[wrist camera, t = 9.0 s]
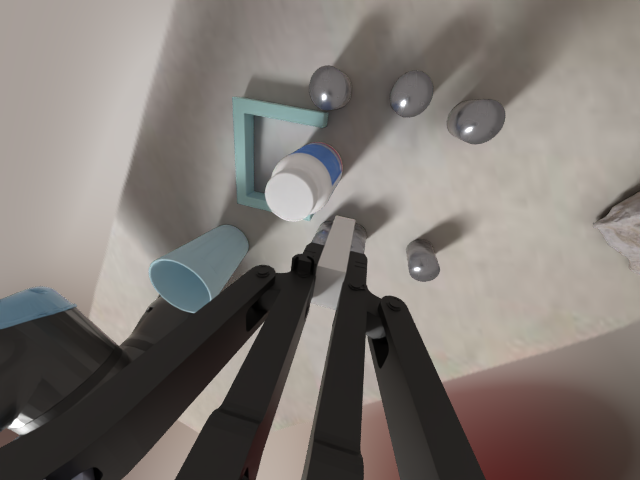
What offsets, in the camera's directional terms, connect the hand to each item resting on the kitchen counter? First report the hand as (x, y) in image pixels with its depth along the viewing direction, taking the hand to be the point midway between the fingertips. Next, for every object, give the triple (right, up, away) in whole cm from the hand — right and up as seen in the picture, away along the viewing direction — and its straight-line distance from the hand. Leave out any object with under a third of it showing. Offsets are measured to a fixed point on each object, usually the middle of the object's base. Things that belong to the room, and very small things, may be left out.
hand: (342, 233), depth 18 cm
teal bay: (-6, +8, +9) cm, 13 cm away
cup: (-15, -1, +17) cm, 22 cm away
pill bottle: (-2, +8, +8) cm, 11 cm away
